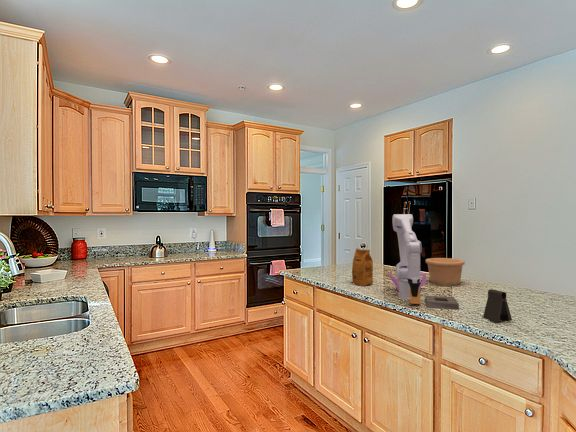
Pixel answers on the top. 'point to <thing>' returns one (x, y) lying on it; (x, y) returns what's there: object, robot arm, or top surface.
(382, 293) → the top surface
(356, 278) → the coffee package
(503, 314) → the phone stand
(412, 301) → the orange block
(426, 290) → the top surface
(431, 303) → the pocket holder
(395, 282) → the teakettle
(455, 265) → the pottery
